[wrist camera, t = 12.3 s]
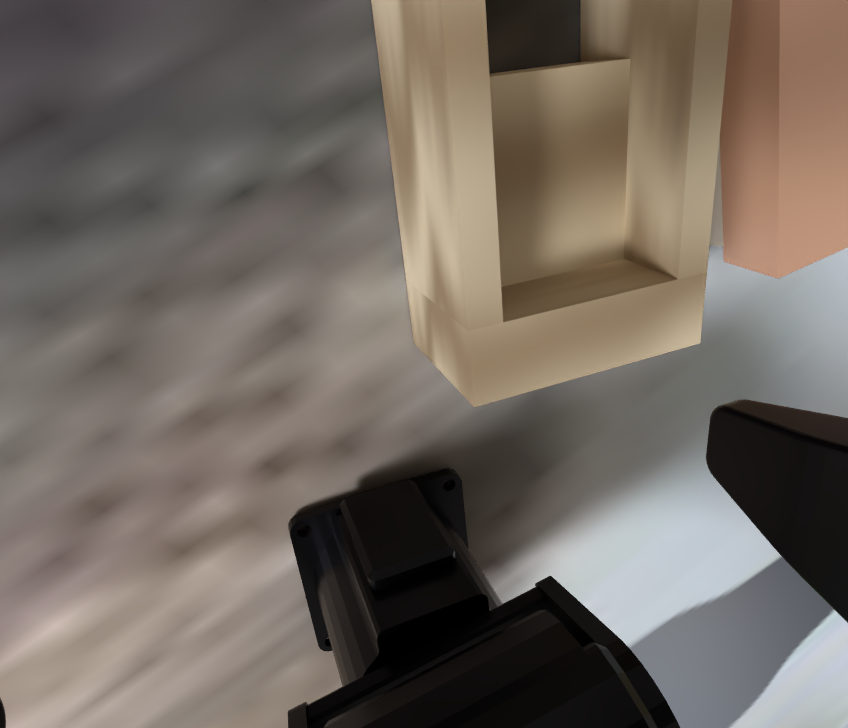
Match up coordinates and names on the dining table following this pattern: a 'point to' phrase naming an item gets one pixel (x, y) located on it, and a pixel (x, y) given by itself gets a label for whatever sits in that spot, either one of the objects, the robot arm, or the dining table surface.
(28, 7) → the dining table surface
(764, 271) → the terracotta block
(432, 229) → the beech pocket board
